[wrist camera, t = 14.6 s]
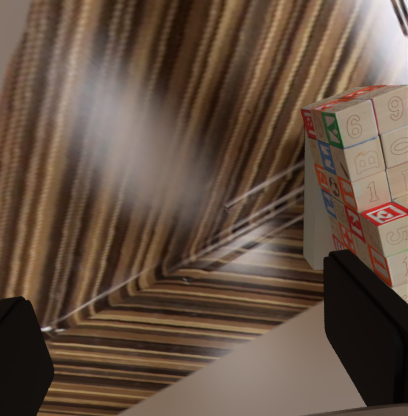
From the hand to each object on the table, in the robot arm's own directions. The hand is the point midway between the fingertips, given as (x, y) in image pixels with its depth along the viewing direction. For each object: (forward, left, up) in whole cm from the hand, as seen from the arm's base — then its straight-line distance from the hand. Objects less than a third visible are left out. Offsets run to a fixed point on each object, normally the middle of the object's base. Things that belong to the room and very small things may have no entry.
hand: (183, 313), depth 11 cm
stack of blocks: (+5, +18, -27) cm, 33 cm away
